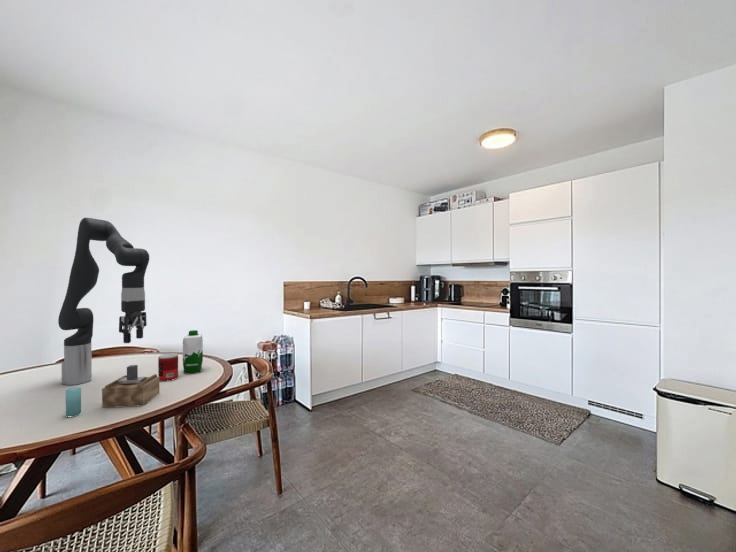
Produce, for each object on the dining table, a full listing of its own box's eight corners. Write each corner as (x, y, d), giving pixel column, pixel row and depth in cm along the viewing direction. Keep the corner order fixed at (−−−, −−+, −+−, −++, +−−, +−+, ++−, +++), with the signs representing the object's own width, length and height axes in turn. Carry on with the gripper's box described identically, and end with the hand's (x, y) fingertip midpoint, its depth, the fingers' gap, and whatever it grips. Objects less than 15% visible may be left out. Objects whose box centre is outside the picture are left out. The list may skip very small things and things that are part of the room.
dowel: (62, 417, 111) (62, 391, 110) (71, 412, 114) (71, 387, 114) (75, 416, 111) (75, 391, 111) (84, 411, 115) (84, 386, 115)
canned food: (181, 376, 154) (181, 353, 154) (170, 381, 146) (169, 357, 146) (167, 375, 155) (166, 352, 155) (154, 381, 147) (154, 357, 147)
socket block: (102, 407, 119) (102, 386, 118) (122, 395, 130) (122, 375, 130) (143, 405, 120) (143, 384, 120) (159, 393, 132) (159, 374, 132)
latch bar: (117, 384, 123) (117, 367, 123) (124, 380, 127) (124, 364, 127) (140, 383, 124) (140, 367, 124) (146, 379, 128) (146, 364, 128)
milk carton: (203, 367, 167) (203, 329, 167) (202, 372, 159) (201, 332, 159) (184, 369, 164) (183, 330, 163) (181, 375, 155) (181, 334, 155)
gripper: (133, 297, 132) (133, 337, 132) (110, 301, 118) (111, 345, 118) (153, 297, 133) (153, 336, 133) (133, 300, 119) (133, 344, 119)
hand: (133, 340), depth 126 cm, fingers open, 8 cm apart
